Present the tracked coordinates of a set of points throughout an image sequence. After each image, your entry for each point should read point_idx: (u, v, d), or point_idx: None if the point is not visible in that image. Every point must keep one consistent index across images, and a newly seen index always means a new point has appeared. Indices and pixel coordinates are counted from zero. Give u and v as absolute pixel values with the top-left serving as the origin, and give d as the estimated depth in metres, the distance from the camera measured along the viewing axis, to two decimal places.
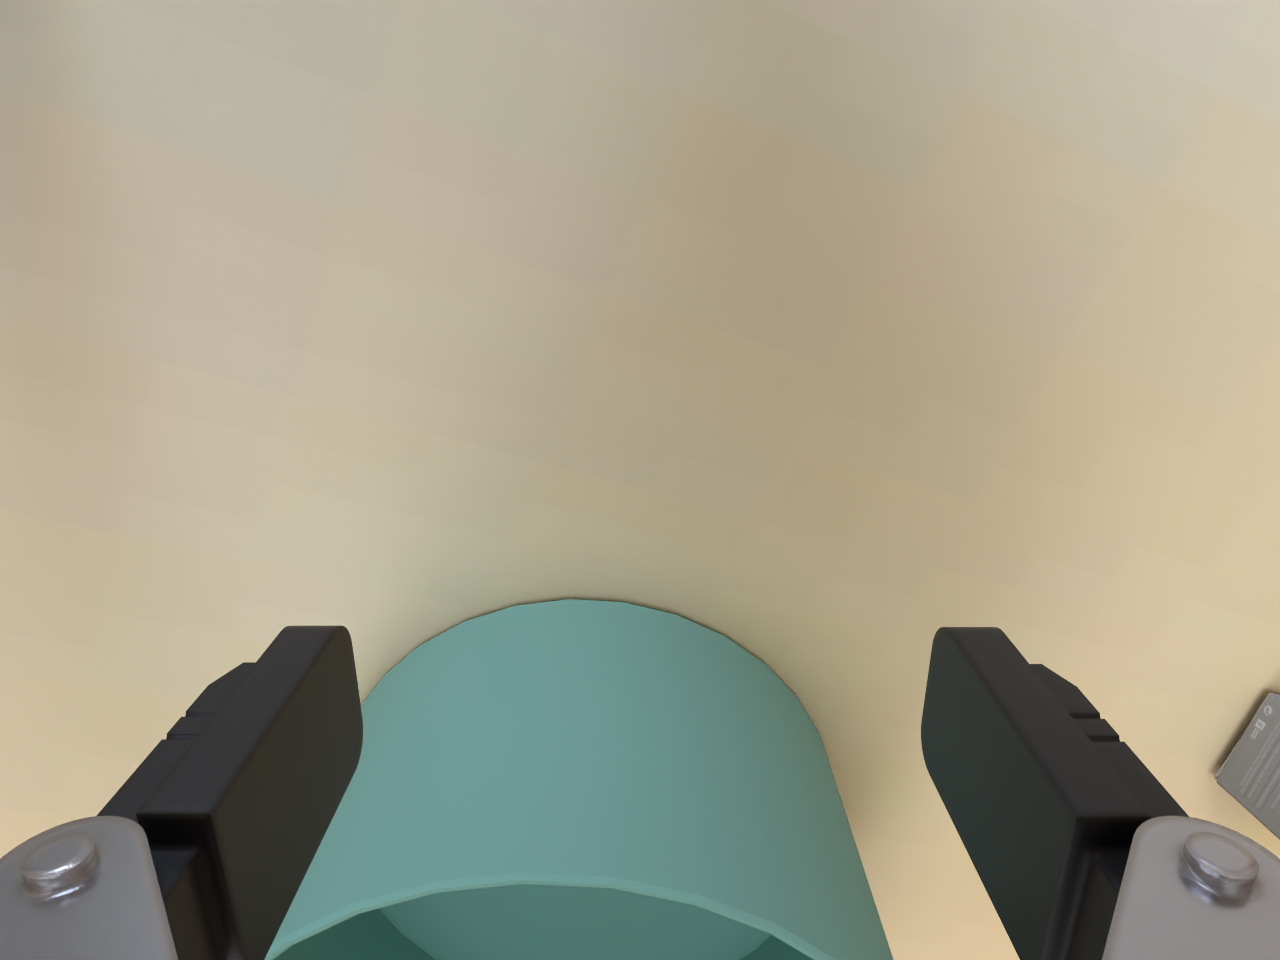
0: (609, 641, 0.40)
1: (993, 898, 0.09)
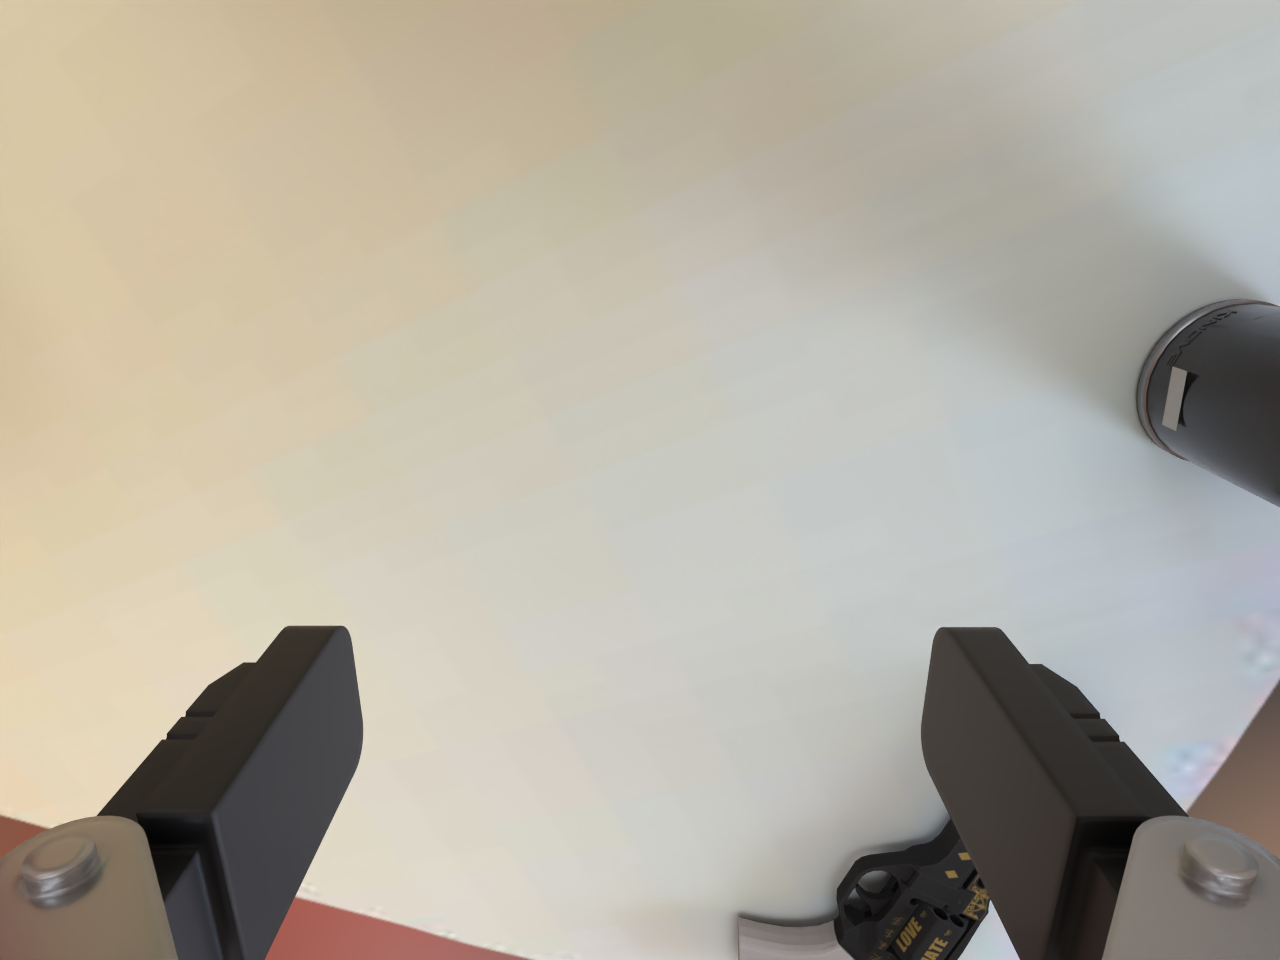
0: None
1: (994, 897, 0.09)
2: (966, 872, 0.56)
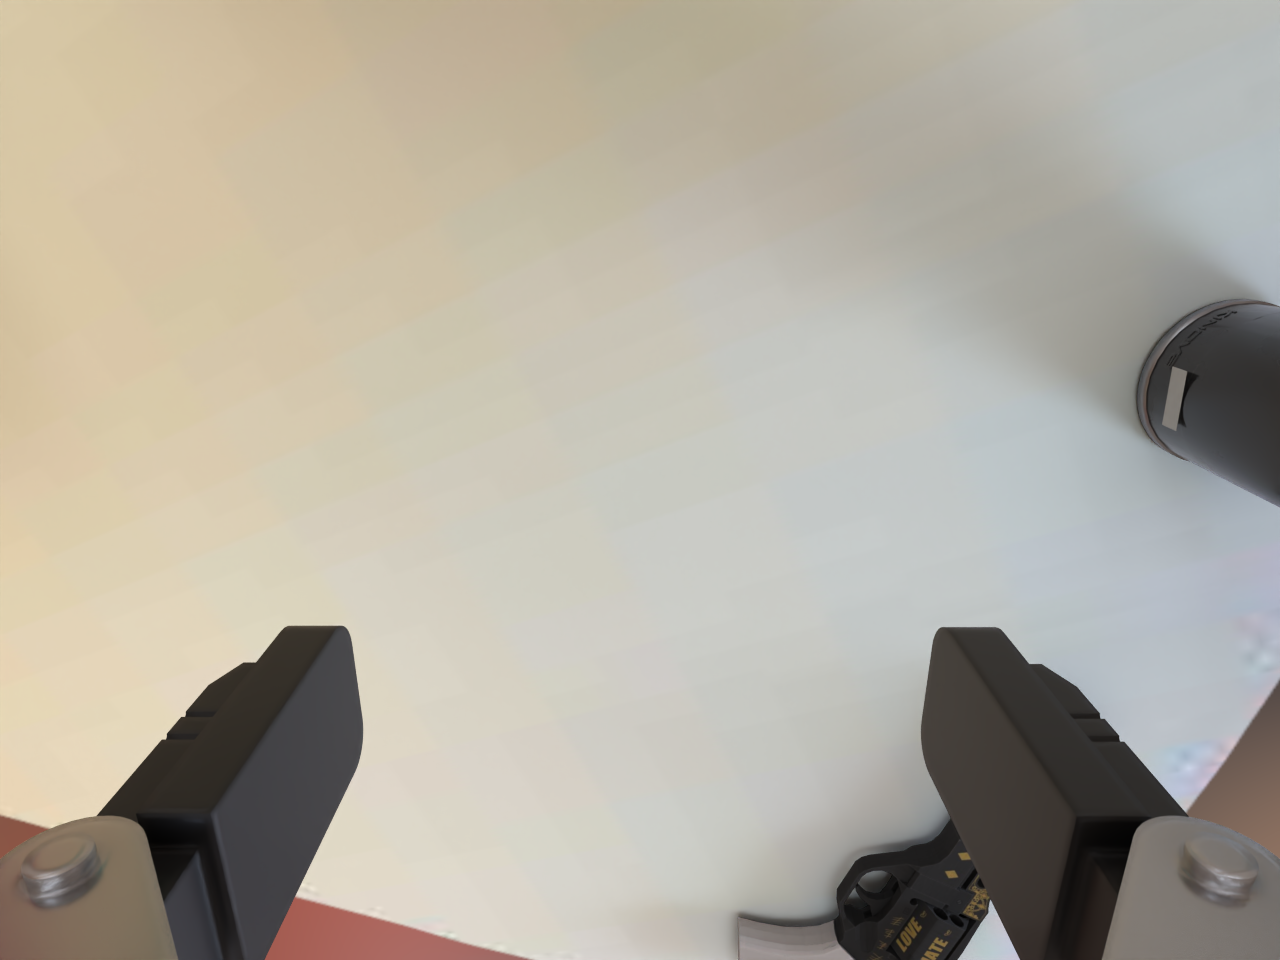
0: None
1: (994, 897, 0.09)
2: (966, 872, 0.56)
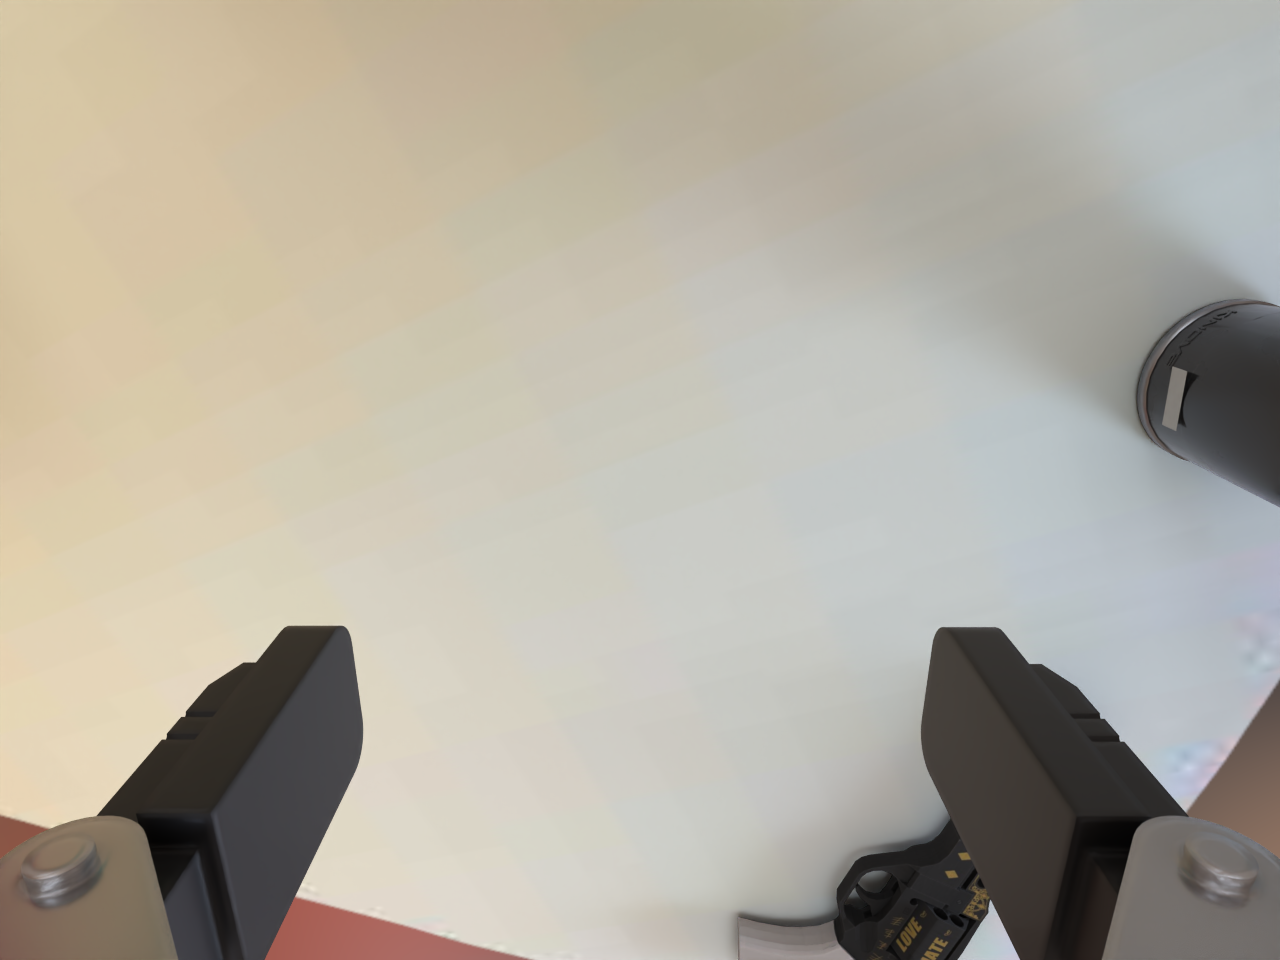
0: None
1: (994, 897, 0.09)
2: (966, 872, 0.56)
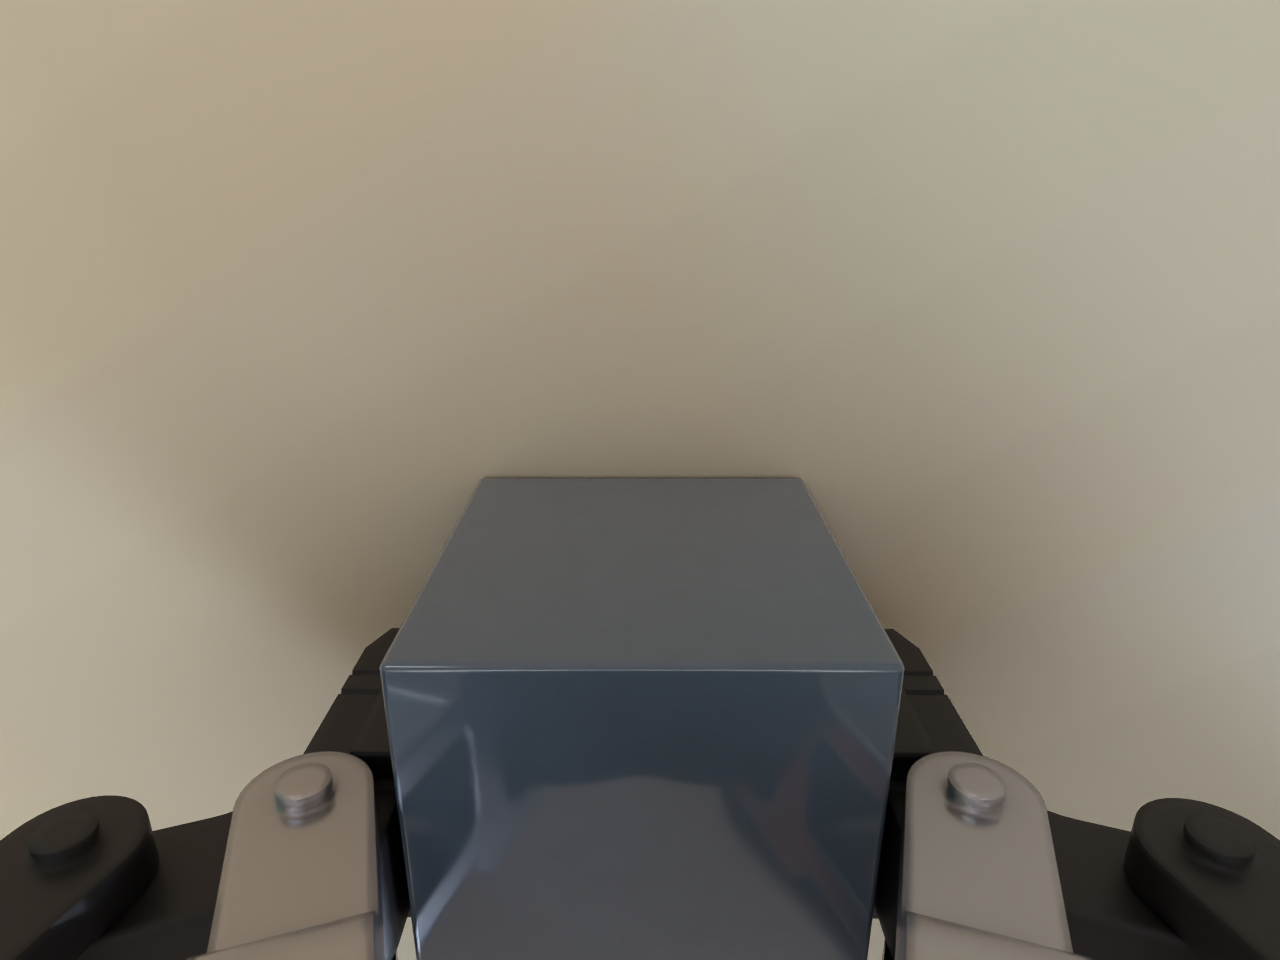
0: None
1: None
2: None
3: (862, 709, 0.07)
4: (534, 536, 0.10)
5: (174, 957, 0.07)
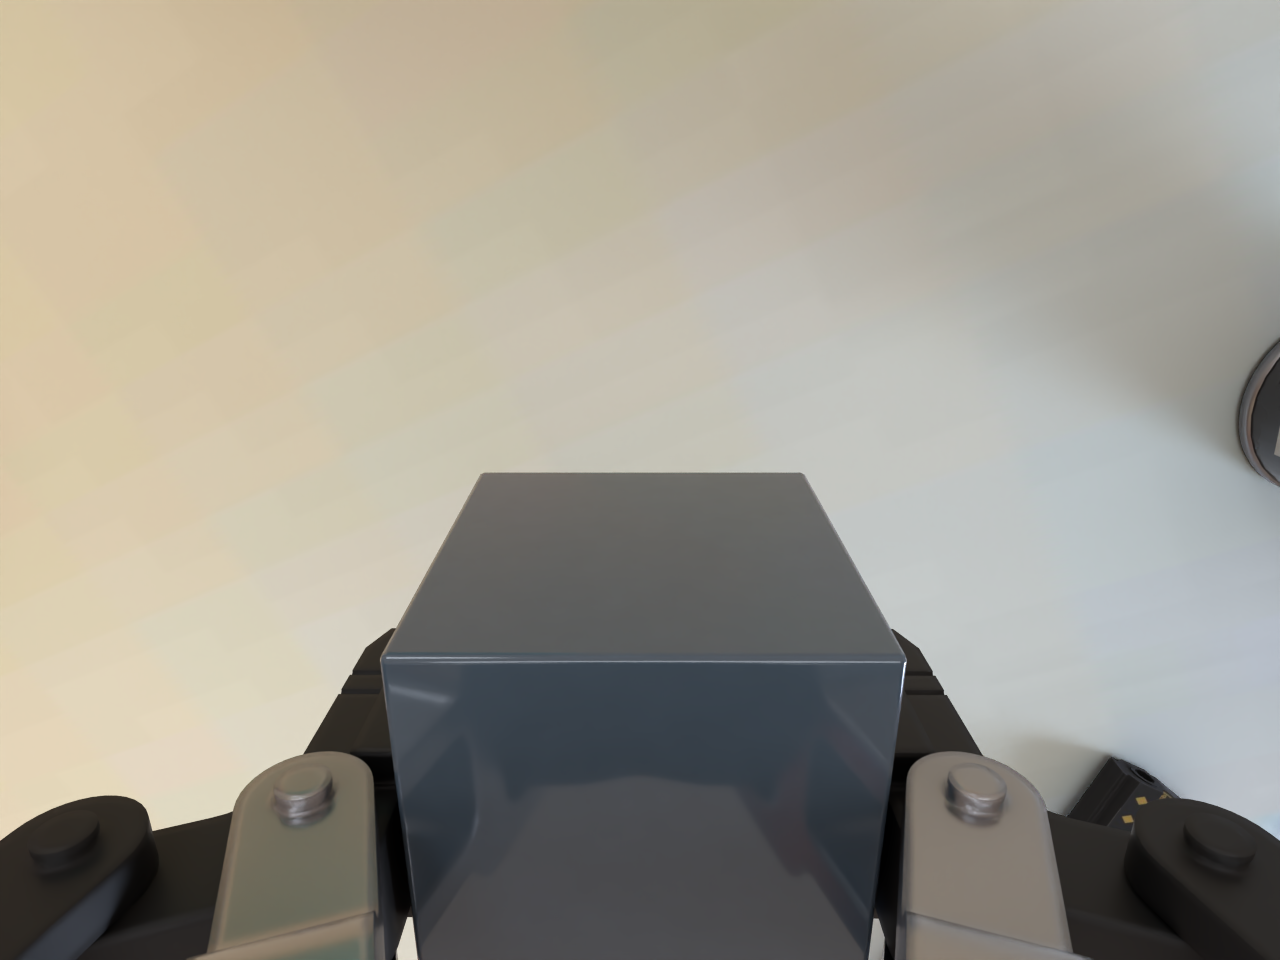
0: None
1: None
2: None
3: (864, 701, 0.07)
4: (535, 529, 0.10)
5: (174, 957, 0.07)
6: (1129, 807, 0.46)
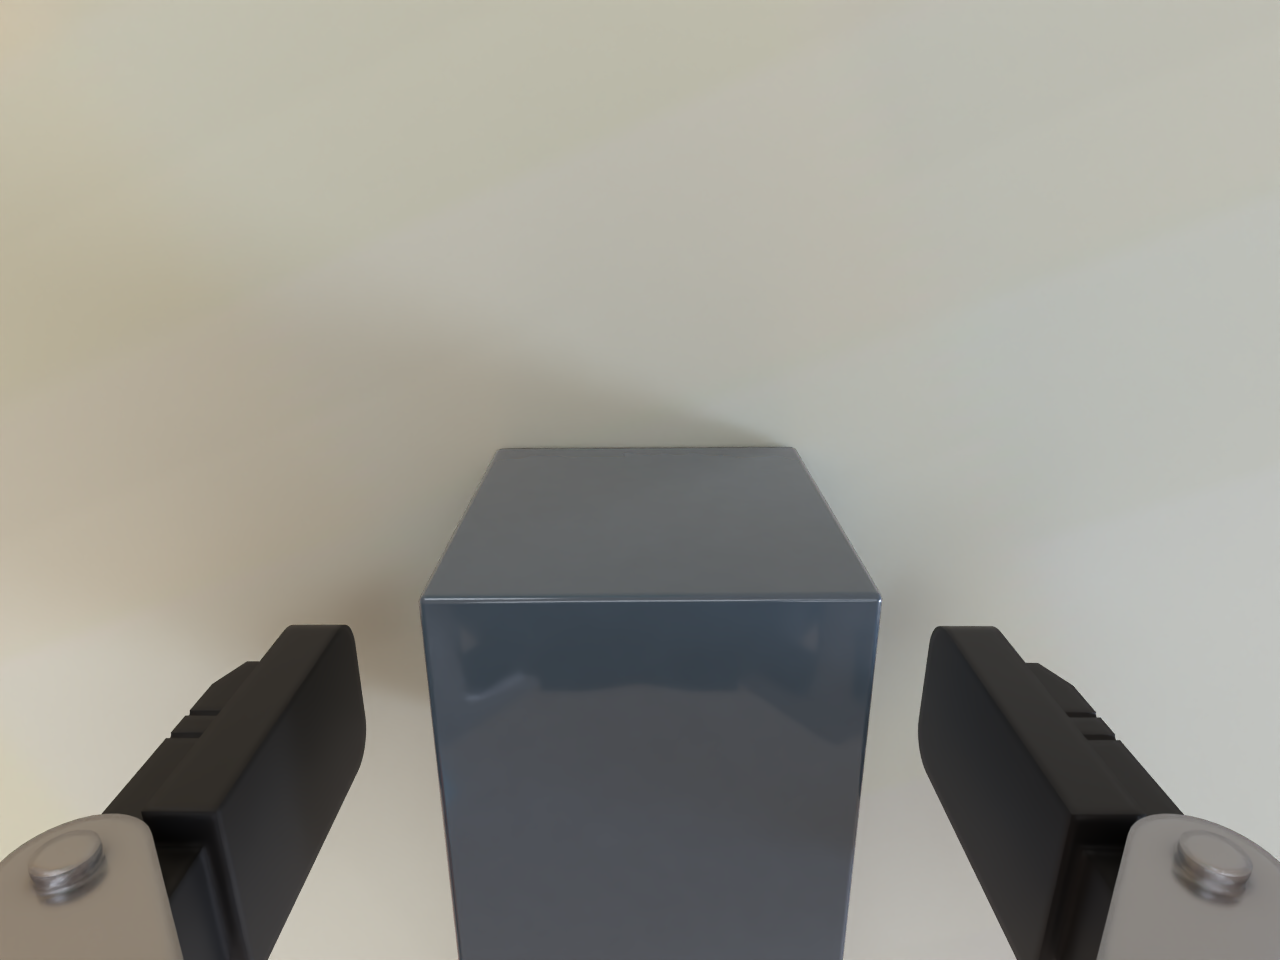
0: None
1: (990, 896, 0.09)
2: None
3: (845, 635, 0.08)
4: (549, 496, 0.11)
5: None
6: None
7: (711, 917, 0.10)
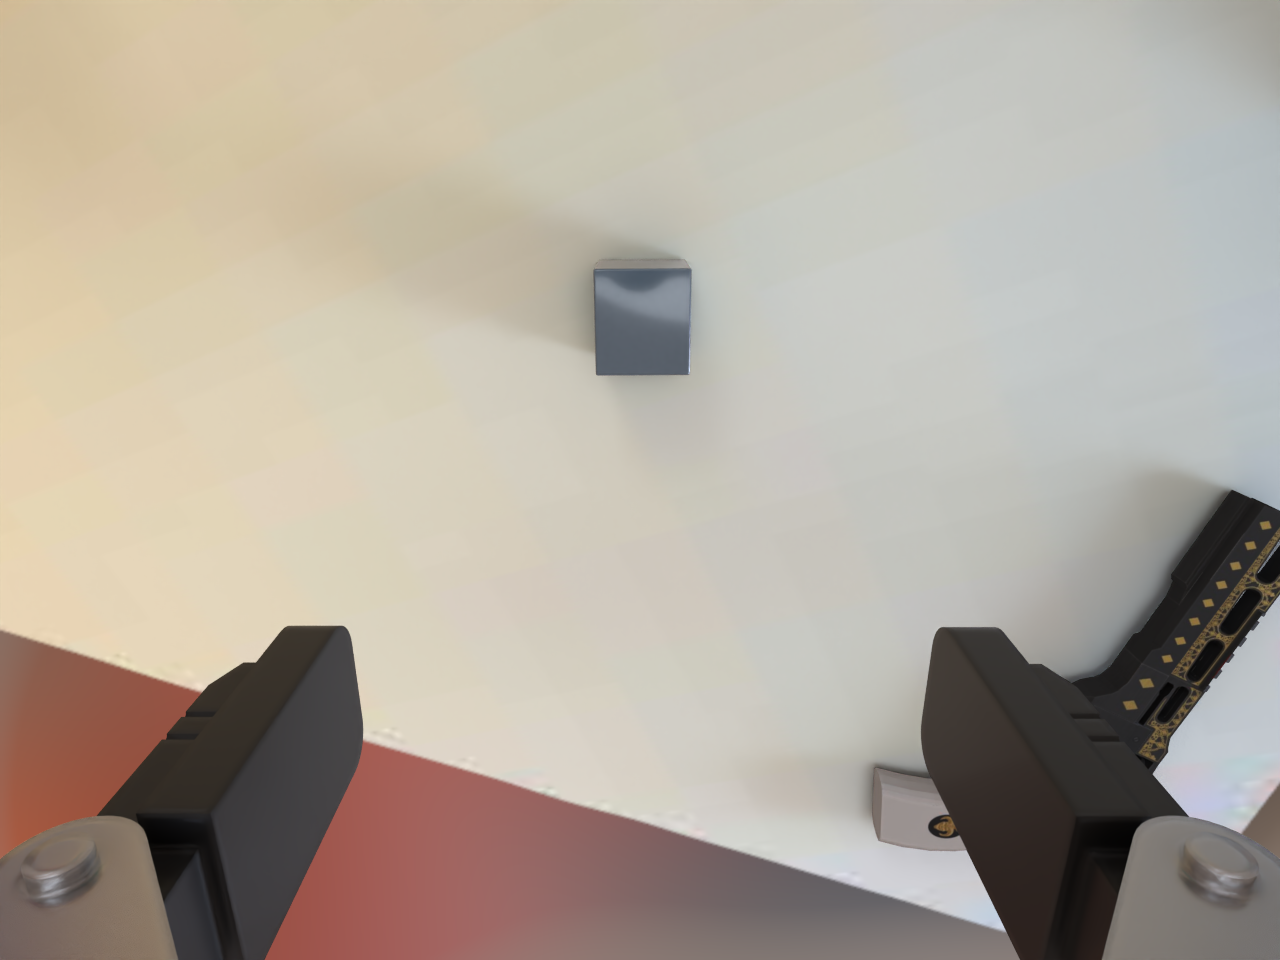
0: None
1: (994, 897, 0.09)
2: (1147, 702, 0.49)
3: (683, 278, 0.39)
4: (616, 263, 0.41)
5: None
6: (1252, 532, 0.46)
7: (657, 356, 0.40)
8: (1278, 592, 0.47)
